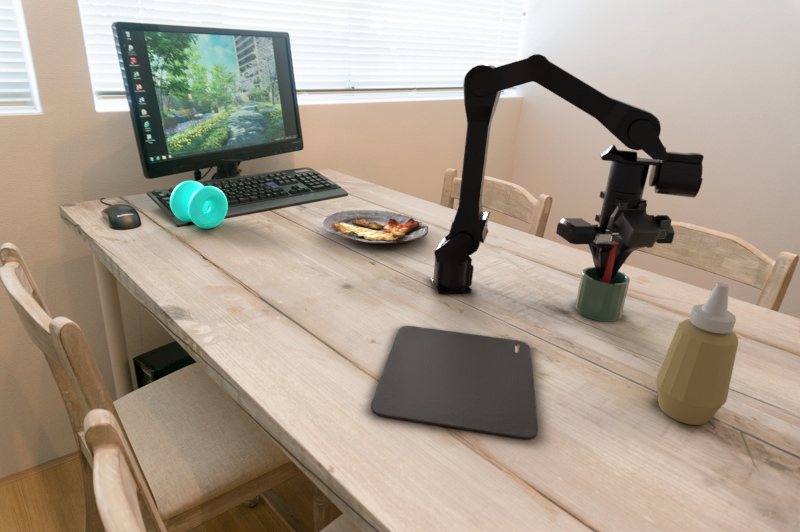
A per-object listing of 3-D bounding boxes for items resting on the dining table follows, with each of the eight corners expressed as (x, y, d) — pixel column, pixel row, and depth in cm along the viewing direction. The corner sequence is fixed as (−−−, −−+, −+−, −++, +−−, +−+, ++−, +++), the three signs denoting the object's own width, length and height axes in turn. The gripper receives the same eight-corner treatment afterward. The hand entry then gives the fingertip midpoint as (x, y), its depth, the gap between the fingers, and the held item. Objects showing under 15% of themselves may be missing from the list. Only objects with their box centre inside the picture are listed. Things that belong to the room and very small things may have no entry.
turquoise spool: (206, 215, 133) (202, 176, 129) (231, 224, 128) (229, 184, 124) (169, 224, 125) (165, 183, 122) (195, 234, 120) (191, 191, 116)
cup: (589, 322, 90) (597, 285, 88) (567, 302, 97) (574, 267, 95) (630, 320, 92) (639, 284, 89) (605, 301, 99) (613, 266, 96)
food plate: (444, 232, 130) (445, 219, 129) (392, 259, 112) (393, 243, 110) (362, 212, 142) (362, 200, 141) (303, 233, 124) (303, 219, 123)
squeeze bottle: (637, 392, 72) (670, 270, 65) (693, 392, 72) (732, 271, 66) (670, 432, 64) (712, 299, 57) (732, 432, 65) (780, 300, 58)
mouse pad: (538, 441, 61) (539, 439, 61) (367, 414, 64) (367, 412, 64) (529, 343, 82) (529, 341, 82) (400, 326, 85) (400, 324, 85)
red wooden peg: (600, 293, 92) (611, 244, 89) (595, 288, 94) (605, 240, 90) (609, 292, 92) (620, 244, 89) (604, 288, 94) (615, 240, 90)
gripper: (598, 202, 77) (578, 299, 83) (709, 203, 81) (683, 296, 86) (562, 184, 87) (547, 271, 93) (663, 185, 91) (642, 269, 97)
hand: (605, 277), depth 92 cm, fingers closed on red wooden peg, 2 cm apart
